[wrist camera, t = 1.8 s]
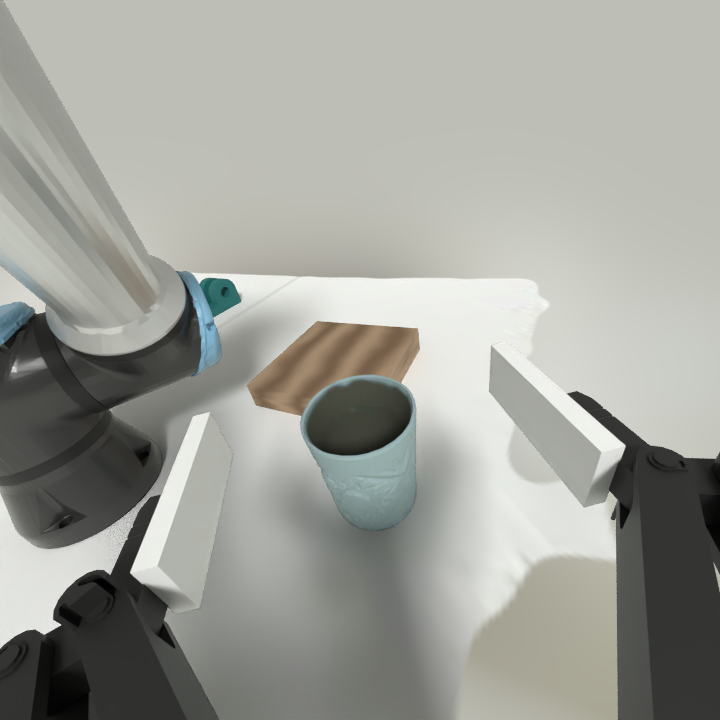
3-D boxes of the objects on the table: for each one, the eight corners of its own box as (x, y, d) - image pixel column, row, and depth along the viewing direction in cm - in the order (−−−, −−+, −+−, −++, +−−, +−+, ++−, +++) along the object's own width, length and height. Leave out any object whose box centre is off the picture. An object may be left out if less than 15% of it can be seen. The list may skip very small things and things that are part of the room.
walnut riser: (255, 405, 52) (246, 385, 49) (321, 339, 66) (317, 321, 64) (372, 432, 43) (367, 408, 40) (419, 349, 57) (418, 328, 55)
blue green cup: (388, 442, 41) (374, 362, 34) (446, 502, 33) (442, 413, 27) (314, 486, 37) (283, 406, 31) (360, 565, 30) (331, 479, 23)
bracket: (226, 300, 96) (215, 274, 91) (241, 302, 92) (230, 275, 88) (169, 330, 84) (154, 301, 80) (184, 334, 80) (169, 304, 76)
